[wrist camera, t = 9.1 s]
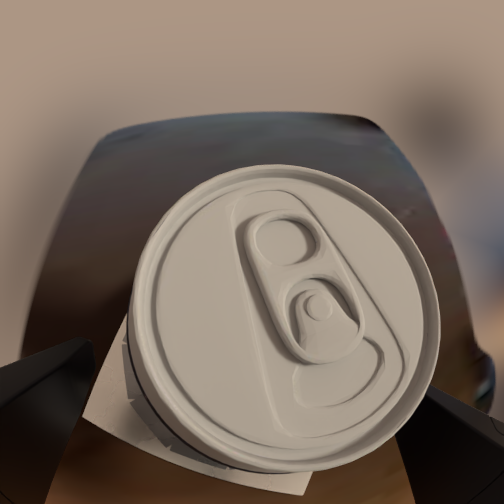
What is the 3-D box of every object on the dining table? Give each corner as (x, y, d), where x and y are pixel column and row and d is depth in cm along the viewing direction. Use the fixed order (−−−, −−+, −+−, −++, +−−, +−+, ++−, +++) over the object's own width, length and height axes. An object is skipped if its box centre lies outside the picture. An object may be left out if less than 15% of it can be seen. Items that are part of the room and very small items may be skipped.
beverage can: (197, 432, 12) (190, 550, 2) (164, 334, 14) (88, 179, 4) (296, 397, 14) (485, 372, 3) (259, 307, 16) (361, 143, 6)
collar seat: (299, 492, 11) (319, 508, 9) (86, 416, 12) (62, 418, 9) (354, 303, 18) (378, 286, 15) (172, 234, 18) (169, 205, 15)
